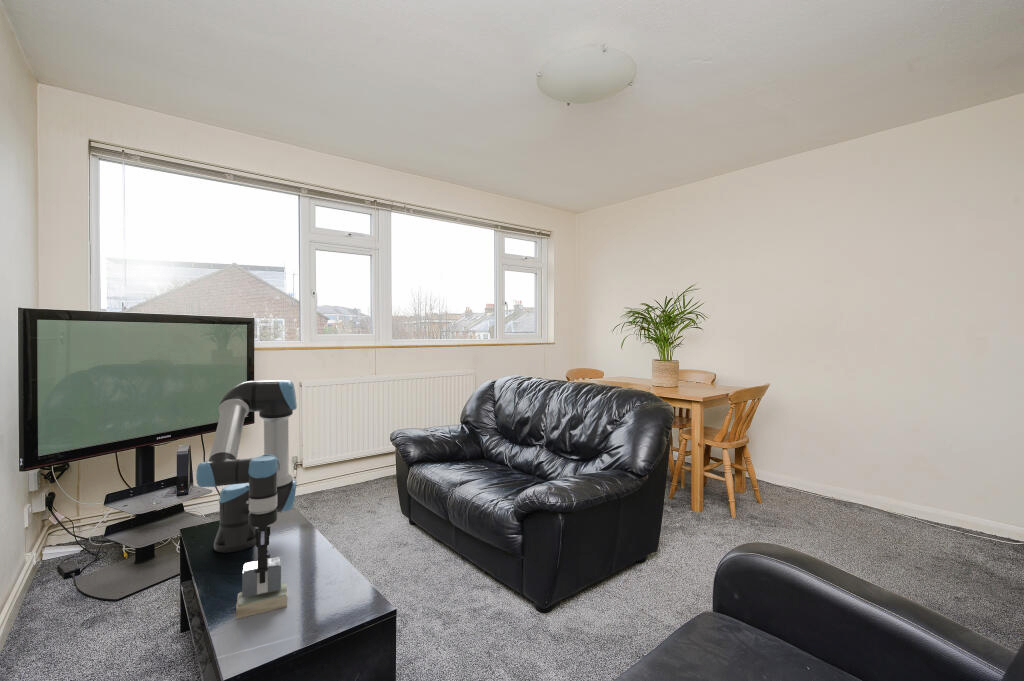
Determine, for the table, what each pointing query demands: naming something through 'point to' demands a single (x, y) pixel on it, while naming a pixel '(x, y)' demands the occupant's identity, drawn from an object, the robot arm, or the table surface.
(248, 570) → the housing
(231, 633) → the table surface
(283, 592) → the stand
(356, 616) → the table surface
